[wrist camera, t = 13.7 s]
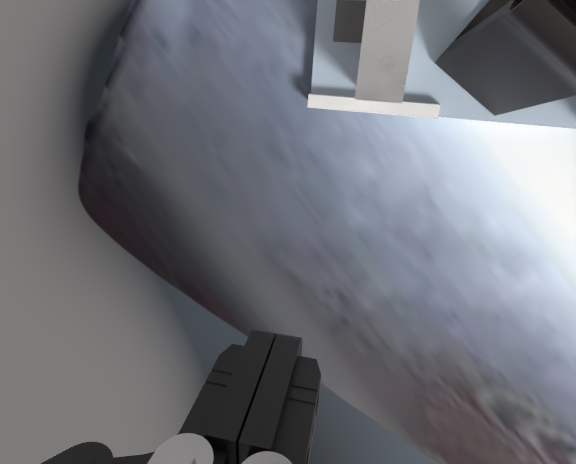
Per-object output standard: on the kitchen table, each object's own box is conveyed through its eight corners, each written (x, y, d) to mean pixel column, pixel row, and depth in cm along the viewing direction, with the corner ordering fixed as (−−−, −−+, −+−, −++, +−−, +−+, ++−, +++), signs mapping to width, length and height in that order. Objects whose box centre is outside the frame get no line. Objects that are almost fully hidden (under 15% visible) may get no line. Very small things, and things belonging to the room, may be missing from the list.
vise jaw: (424, -49, 26) (432, -74, 21) (400, 93, 30) (402, 103, 25) (349, -50, 27) (338, -73, 21) (335, 88, 31) (324, 97, 25)
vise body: (711, -72, 23) (831, -116, 17) (624, 130, 29) (691, 154, 22) (325, -71, 28) (306, -106, 21) (312, 103, 33) (294, 117, 27)
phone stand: (542, -62, 24) (658, -145, 14) (609, 3, 25) (769, -29, 14) (433, 62, 29) (458, 71, 18) (492, 115, 29) (550, 154, 19)
